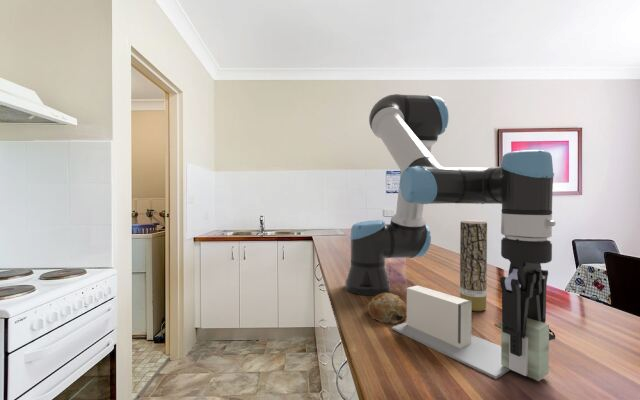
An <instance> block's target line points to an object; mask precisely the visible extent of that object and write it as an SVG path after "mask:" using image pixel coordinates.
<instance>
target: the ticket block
mask: <svg viewBox="0 0 640 400" xmlns="http://www.w3.org/2000/svg"><path fill="white" fill-rule="evenodd" d="M406 307H407V318H406V322H403V323H400V324H397V325H395V326H391V329H392V330H394V331H395V332H398V333H400V334H401V335H404V336H405V337H407V338H410V339H412V340H415V341H416V342H418V343H420V344H422V345H424V346H427V347H429V348H430V349H433V350H435V351H436V352H438V353H441V354H442V355H445V356H447V357H449V358H452V359H454V360H456V361H458V362H459V363H462V364H464V365H466V366H468V367H469V368H473V369H474V370H476V371H478V372H480V373H482V374H484V375H487V376H489V377H490V378H493V379H495V380H497V379H499V378H500V377H502V376H503V375H505V374H506V373H508V372H509V371H512V370H511V369H509V368H507V367H505V366H503V365H501V345H499V344H496V343H494V342H491V341H489V340H486V339H484V338H481V337H478V336H475V335H473V334H472V311H471V310H472V301H470V300H465V299H462V298H460V297H458V296H455V295H451V294H449V293H445V292H441V291H438V290H434V289H430V288H428V287H424V286H421V285H413V286H409V287H406Z"/></svg>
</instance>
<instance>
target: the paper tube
mask: <svg viewBox="0 0 640 400" xmlns="http://www.w3.org/2000/svg"><path fill="white" fill-rule="evenodd" d="M459 227H460V228H459V229H460V234H459V236H460V237H459V238H460V239H459V241H460V242H459V243H460V244H459V245H460V246H459V251H460V252H459V254H460V255H459V298H462V299H465V300H470V301H472V310H471V312H483V311H485V310H486V309H487V285H488V283H487V281H488V280H487V279H488V277H487V275H488V274H487V273H488V272H487V270H488V269H487V268H488V265H487V263H488V221H487V220H481V219H462V220H461V219H460V225H459Z"/></svg>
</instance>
